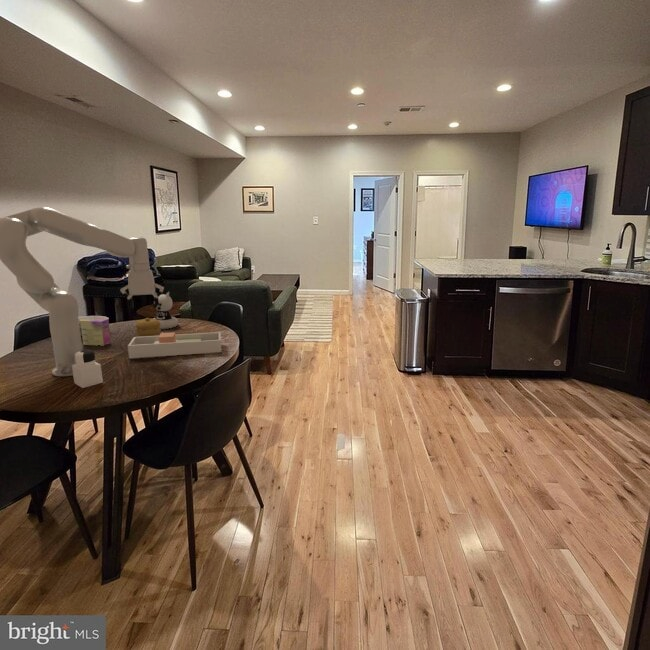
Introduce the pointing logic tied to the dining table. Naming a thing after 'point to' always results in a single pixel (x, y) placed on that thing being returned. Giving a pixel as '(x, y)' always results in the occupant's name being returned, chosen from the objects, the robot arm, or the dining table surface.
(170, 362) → the dining table surface
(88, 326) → the box
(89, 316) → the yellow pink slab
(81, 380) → the medicine bottle
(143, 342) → the channel
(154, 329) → the pot
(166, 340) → the block
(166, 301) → the decorative figurine
